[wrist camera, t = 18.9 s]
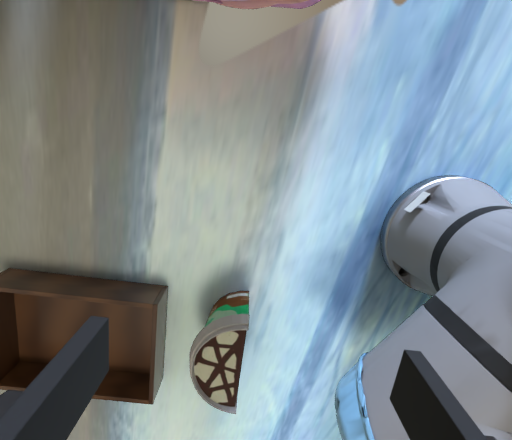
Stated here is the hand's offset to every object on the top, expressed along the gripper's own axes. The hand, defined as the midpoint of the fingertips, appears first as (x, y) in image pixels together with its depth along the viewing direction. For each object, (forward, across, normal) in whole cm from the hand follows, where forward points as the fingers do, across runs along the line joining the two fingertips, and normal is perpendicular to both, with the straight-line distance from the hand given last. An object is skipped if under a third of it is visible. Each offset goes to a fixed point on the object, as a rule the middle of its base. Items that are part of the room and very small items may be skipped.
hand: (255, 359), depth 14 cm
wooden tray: (+27, -21, -19) cm, 39 cm away
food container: (+27, -3, -16) cm, 31 cm away
